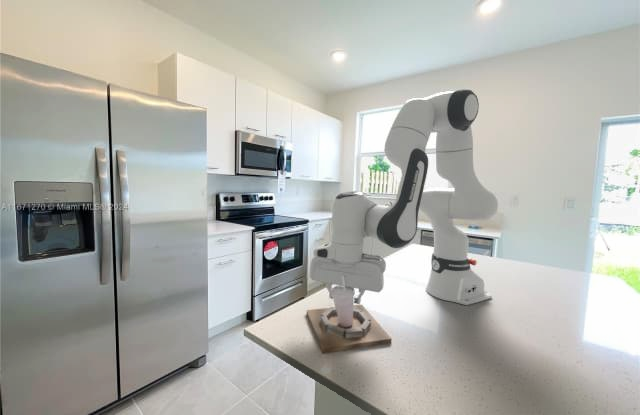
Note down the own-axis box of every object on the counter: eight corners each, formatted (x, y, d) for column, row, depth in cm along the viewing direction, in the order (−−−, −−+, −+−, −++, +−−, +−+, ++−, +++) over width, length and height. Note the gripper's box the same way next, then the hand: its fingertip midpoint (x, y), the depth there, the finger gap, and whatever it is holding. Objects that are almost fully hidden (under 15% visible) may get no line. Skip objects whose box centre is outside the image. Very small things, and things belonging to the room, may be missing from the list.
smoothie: (357, 330, 66) (351, 280, 63) (333, 330, 67) (326, 281, 65) (358, 315, 72) (353, 269, 70) (336, 315, 73) (330, 270, 71)
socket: (361, 308, 81) (362, 300, 81) (391, 343, 64) (391, 332, 64) (306, 313, 76) (306, 305, 76) (322, 353, 59) (322, 342, 59)
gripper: (387, 253, 68) (384, 302, 69) (316, 244, 75) (315, 289, 76) (384, 260, 62) (381, 313, 63) (308, 249, 69) (306, 298, 71)
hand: (344, 300), depth 70 cm, fingers open, 6 cm apart
